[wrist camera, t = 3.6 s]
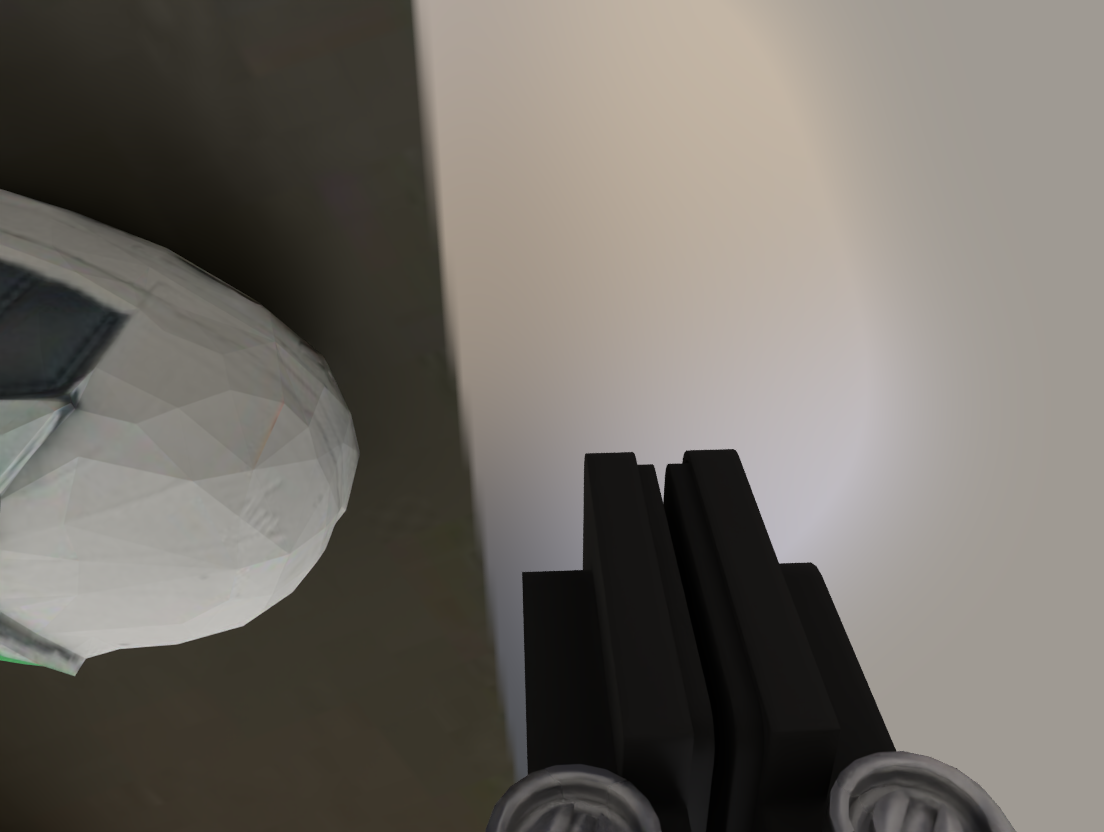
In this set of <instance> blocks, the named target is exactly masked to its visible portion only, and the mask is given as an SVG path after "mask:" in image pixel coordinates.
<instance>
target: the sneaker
mask: <svg viewBox="0 0 1104 832" xmlns="http://www.w3.org/2000/svg"><path fill="white" fill-rule="evenodd" d="M359 455H360V452H359V447H358V443H357V438H356V434H355V429H354V425H353V420H352V416H351V413H350V411H349V409H348V407H347V404H346V402H345V400H344V398H343V396H342V394H341V392H340V390H339V387H338V385H337V383H336V381H335V379H334V377H333V375H332V372H331V370H330V368H329V366H328V364H327V362H326V360H325V357H324V356H322V355H321V354H320V353H319V352H318V351H316V350H315V349H314V348H313V347H312V346H310V345H309V344H308V343H307V342H306V341H304V340H303V339H302V338H301V337H300V336H298V335H297V334H296V333H295V332H294V331H293V330H291V329H290V328H289V327H288V326H287V325H285V324H284V323H283V322H282V321H281V320H279V319H278V318H277V317H276V316H275V315H273V314H272V313H271V312H270V311H269V310H267V309H266V308H265V307H264V306H263V305H261V304H260V303H259V302H258V301H256V300H254V299H252V298H251V297H249V296H247V295H246V294H244V293H242V292H240V291H239V290H237V289H235V288H234V287H232V286H230V285H229V284H227V283H225V282H223V281H222V280H220V279H218V278H217V277H215V276H213V275H211V274H210V273H208V272H206V271H205V270H203V269H201V268H200V267H198V266H196V265H194V264H193V263H191V262H189V261H188V260H186V259H184V258H183V257H181V256H179V255H177V254H176V253H174V252H172V251H171V250H169V249H167V248H165V247H162V246H160V245H157V244H155V243H152V242H149V241H147V240H144V239H142V238H139V237H137V236H134V235H132V234H129V233H127V232H124V231H122V230H119V229H117V228H114V227H112V226H109V225H107V224H104V223H102V222H99V221H97V220H94V219H91V218H89V217H86V216H84V215H81V214H79V213H76V212H74V211H70V210H67V209H64V208H61V207H57V206H54V205H51V204H48V203H45V202H41V201H38V200H35V199H32V198H28V197H25V196H22V195H19V194H15V193H12V192H9V191H6V190H2V189H0V660H2V661H8V662H15V663H21V664H28V665H37V666H45V667H48V668H51V669H54V670H57V671H61V672H64V673H67V674H70V675H73V676H75V675H76V673H77V672H78V670H79V669H80V667H81V665H82V664H83V662H84V661H85V659H86V658H89V657H93V656H96V655H100V654H103V653H107V652H110V651H114V650H118V649H125V648H137V647H150V646H162V645H174V644H180V643H184V642H187V641H191V640H194V639H198V638H201V637H205V636H209V635H212V634H216V633H219V632H223V631H227V630H230V629H234V628H237V627H241V626H244V625H245V624H247V623H248V622H250V621H251V620H253V619H254V618H255V617H257V616H258V615H260V614H261V613H263V612H264V611H266V610H267V609H269V608H270V607H272V606H273V605H274V604H276V603H277V602H279V601H280V600H282V599H283V598H285V597H286V596H288V595H289V594H290V593H292V592H293V591H294V590H295V588H296V587H297V586H298V585H299V583H300V582H301V581H302V580H303V578H304V577H305V576H306V575H307V573H308V572H309V571H310V570H311V568H312V567H313V566H314V565H315V563H316V562H317V561H318V559H319V558H320V556H321V555H322V553H323V552H324V550H325V549H326V546H327V544H328V541H329V539H330V536H331V533H332V531H333V528H334V526H335V523H336V522H337V521H338V520H339V518H340V517H341V516H342V515H343V513H344V512H345V511H346V508H347V504H348V500H349V496H350V492H351V488H352V483H353V479H354V475H355V471H356V467H357V463H358V459H359Z"/></svg>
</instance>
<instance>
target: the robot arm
mask: <svg viewBox="0 0 1104 832" xmlns="http://www.w3.org/2000/svg"><path fill="white" fill-rule="evenodd" d="M583 526H584V527H583V570H574V571H547V572H546V571H545V572H522V576H523V577H522V580H523V614H524V615H523V616H524V650H525V651H524V652H525V688H526V722H527V755H528V756H527V759H528V775H527V776H526V777H524V778H523V779H521V780H520V781H518V782H517V783H515V784H514V785H512V786H511V787H510V788H509V789H508V790H507V791H506V793H505V794H504V795H503V796H502V797H501V799H500V800H499V801H498V802H497V804H496V805H495V806H494V809H493V812H492V814H491V817H490V820H489V822H488V825H487V828H486V832H1016V831H1015V829H1014V828H1013V827H1012V825H1011V823H1010V822H1009V821H1008V819H1007V818H1006V816H1005V815H1004V813H1003V812H1002V810H1001V809H1000V807H999V806H998V805H997V804H996V803H995V802H994V800H992V798H991V797H990V796H989V795H988V794H987V792H986V791H985V790H984V789H983V788H982V787H981V786H980V785H979V784H978V783H976V782H975V781H973V780H972V779H970V778H969V777H968V776H966V775H965V774H963V773H962V772H961V771H959V770H958V769H957V768H954V767H952V766H949V765H948V764H945V763H943V762H941V761H939V760H936V759H934V758H931V757H928V756H924V755H919V754H914V753H909V752H904V751H898V752H896V749H895V747H894V745H893V742H892V740H891V738H890V735H889V733H888V731H887V728H886V726H885V724H884V721H883V719H882V716H881V714H880V712H879V710H878V707H877V704H876V702H875V700H874V697H873V695H872V693H871V691H870V688H869V686H868V683H867V681H866V679H865V676H864V674H863V671H862V669H861V667H860V664H859V662H858V660H857V658H856V655H855V653H854V650H853V648H852V646H851V643H850V641H849V639H848V636H847V634H846V632H845V629H844V627H843V624H842V622H841V620H840V617H839V615H838V613H837V610H836V608H835V606H834V603H833V601H832V598H831V596H830V594H829V591H828V589H827V587H826V584H825V582H824V580H823V577H822V575H821V573H820V572H819V570H818V568H817V567H816V566H815V565H814V564H812V563H786V564H785V563H783V564H779V562H778V560H777V557H776V554H775V552H774V549H773V546H772V544H771V541H770V538H769V536H768V533H767V530H766V528H765V525H764V522H763V520H762V517H761V514H760V511H759V509H758V506H757V503H756V501H755V498H754V495H753V493H752V490H751V487H750V485H749V482H748V479H747V477H746V474H745V471H744V469H743V466H742V463H741V461H740V458H739V455H738V453H737V452H736V450H734V449H726V450H691V451H686V452H685V453H684V457H683V463H682V464H668V465H667V467H666V473H665V486H664V502H663V501H662V497H661V493H660V489H659V484H658V481H657V476H656V472H655V468H654V465H653V464H652V465H651V464H650V465H637V462H636V457H635V454H634V453H633V452H624V453H623V452H622V453H590V454H585V461H584V524H583Z"/></svg>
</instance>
